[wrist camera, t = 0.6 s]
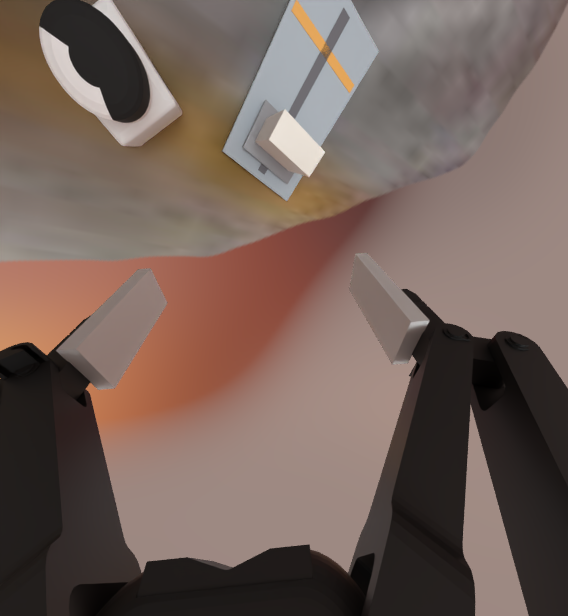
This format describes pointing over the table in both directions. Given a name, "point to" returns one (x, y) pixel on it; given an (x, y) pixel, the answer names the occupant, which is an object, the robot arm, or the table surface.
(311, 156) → the fader
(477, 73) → the table surface
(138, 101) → the container
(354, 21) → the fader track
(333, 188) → the table surface
